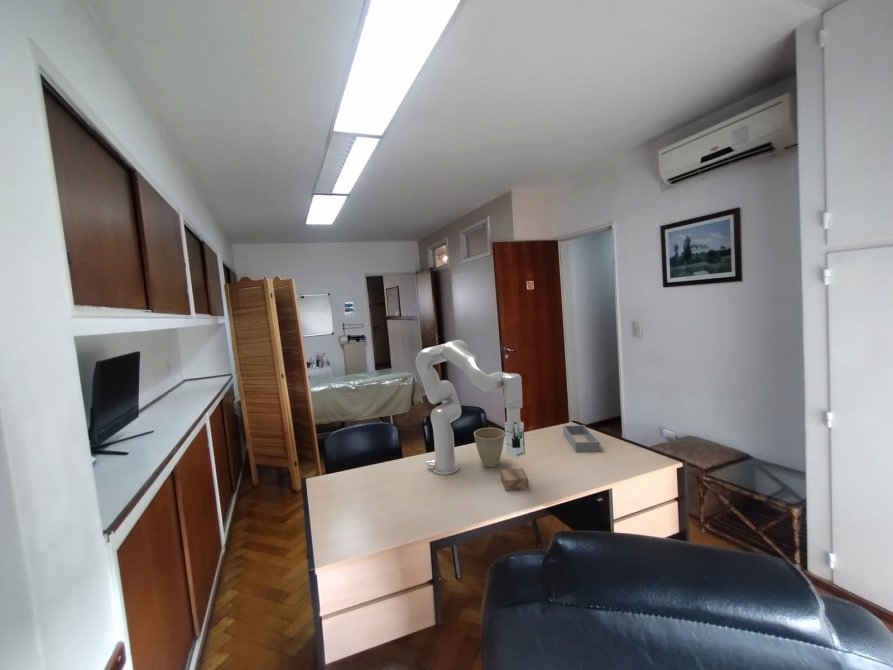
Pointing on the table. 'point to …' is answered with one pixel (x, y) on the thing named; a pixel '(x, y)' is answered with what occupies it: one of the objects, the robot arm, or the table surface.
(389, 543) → the table surface
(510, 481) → the walnut block
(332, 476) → the table surface
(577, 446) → the frame
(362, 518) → the table surface
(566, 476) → the table surface
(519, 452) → the syrup box
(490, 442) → the plant pot
